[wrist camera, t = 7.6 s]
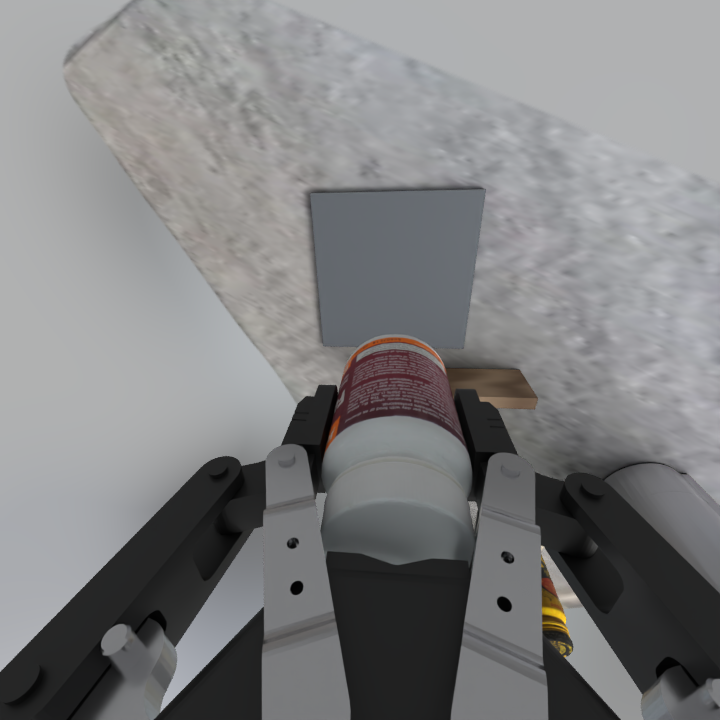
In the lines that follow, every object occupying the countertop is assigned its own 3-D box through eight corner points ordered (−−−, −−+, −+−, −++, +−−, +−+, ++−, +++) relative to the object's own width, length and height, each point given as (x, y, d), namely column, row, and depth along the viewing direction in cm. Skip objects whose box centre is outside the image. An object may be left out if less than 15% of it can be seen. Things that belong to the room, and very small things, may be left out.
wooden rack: (519, 369, 34) (538, 398, 30) (503, 436, 39) (517, 469, 34) (363, 366, 36) (359, 393, 31) (364, 430, 40) (361, 462, 36)
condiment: (550, 539, 47) (595, 644, 36) (522, 571, 51) (556, 674, 40) (500, 528, 46) (531, 631, 36) (476, 561, 51) (497, 662, 40)
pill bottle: (330, 344, 15) (273, 501, 8) (435, 320, 14) (481, 475, 7) (359, 424, 17) (336, 606, 10) (452, 408, 16) (502, 597, 9)
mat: (484, 189, 27) (486, 189, 26) (462, 346, 33) (463, 348, 33) (311, 193, 28) (310, 193, 27) (324, 344, 35) (323, 346, 34)
